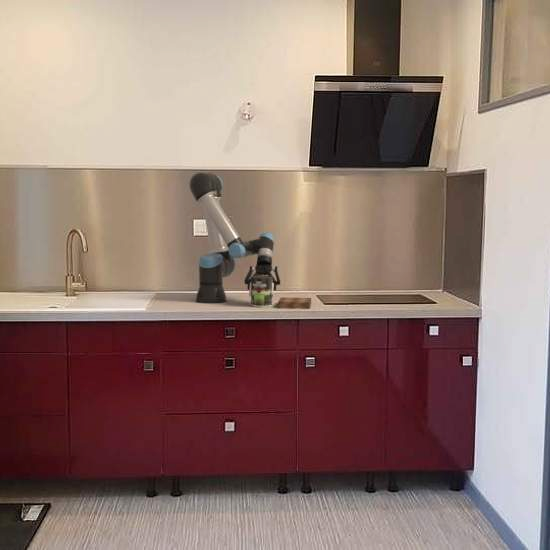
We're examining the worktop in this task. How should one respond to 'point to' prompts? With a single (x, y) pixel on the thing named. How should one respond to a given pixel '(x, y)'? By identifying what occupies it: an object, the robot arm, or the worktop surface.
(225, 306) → the worktop surface
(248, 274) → the robot arm
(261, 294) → the coffee can
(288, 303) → the walnut board
